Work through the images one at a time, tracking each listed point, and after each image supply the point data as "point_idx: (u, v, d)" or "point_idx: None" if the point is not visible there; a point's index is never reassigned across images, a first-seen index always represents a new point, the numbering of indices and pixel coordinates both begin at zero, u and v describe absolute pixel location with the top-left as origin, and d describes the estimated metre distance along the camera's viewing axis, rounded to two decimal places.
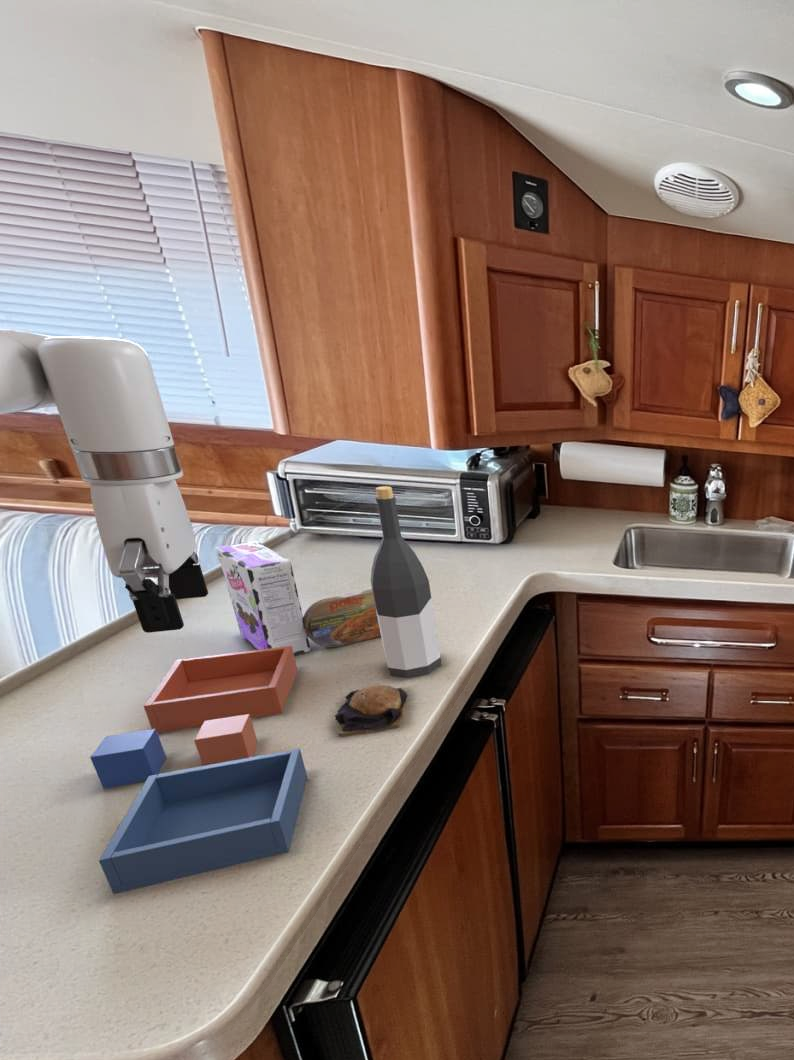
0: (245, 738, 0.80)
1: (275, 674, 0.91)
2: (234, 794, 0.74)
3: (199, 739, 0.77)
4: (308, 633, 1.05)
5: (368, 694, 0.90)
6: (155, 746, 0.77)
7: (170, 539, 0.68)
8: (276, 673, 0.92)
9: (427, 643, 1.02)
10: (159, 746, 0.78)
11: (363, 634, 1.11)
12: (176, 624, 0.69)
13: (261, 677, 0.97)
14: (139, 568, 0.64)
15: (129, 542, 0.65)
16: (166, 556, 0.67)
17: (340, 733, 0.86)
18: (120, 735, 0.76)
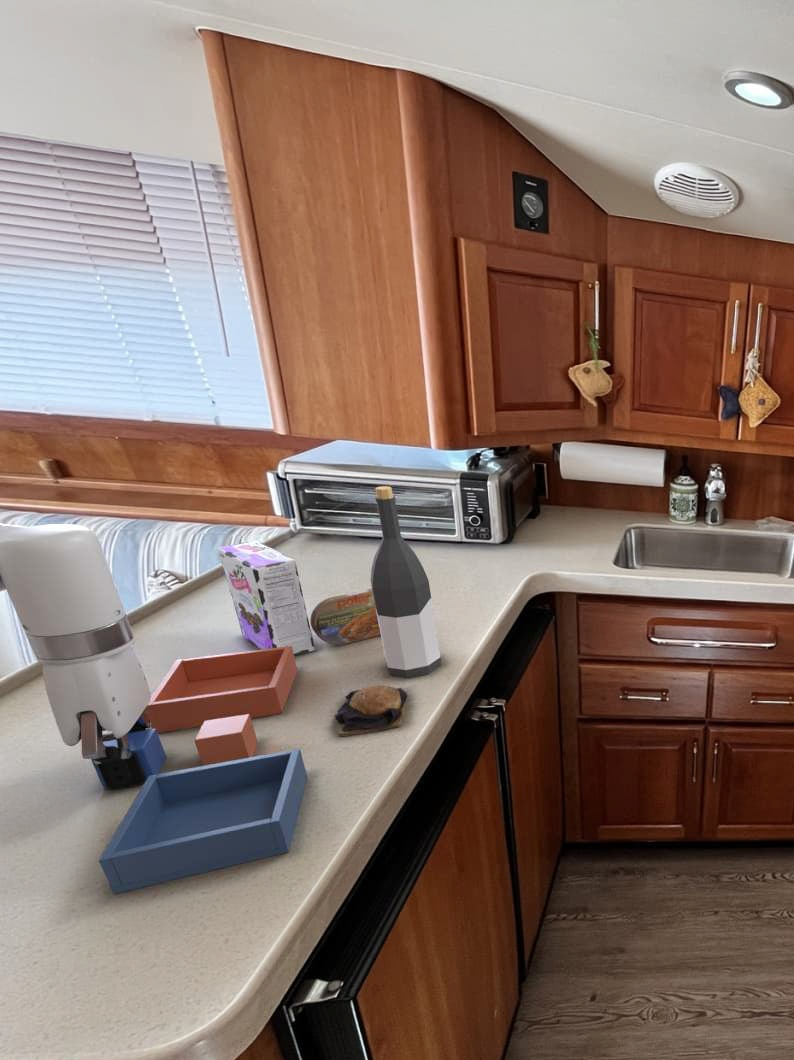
0: (245, 738, 0.80)
1: (275, 674, 0.91)
2: (234, 794, 0.74)
3: (199, 739, 0.77)
4: (317, 631, 1.06)
5: (368, 694, 0.90)
6: (155, 746, 0.77)
7: (121, 705, 0.71)
8: (276, 673, 0.92)
9: (427, 643, 1.02)
10: (159, 746, 0.78)
11: (370, 631, 1.12)
12: (138, 779, 0.75)
13: (261, 677, 0.97)
14: (100, 747, 0.69)
15: (84, 720, 0.69)
16: (117, 723, 0.70)
17: (340, 733, 0.86)
18: None
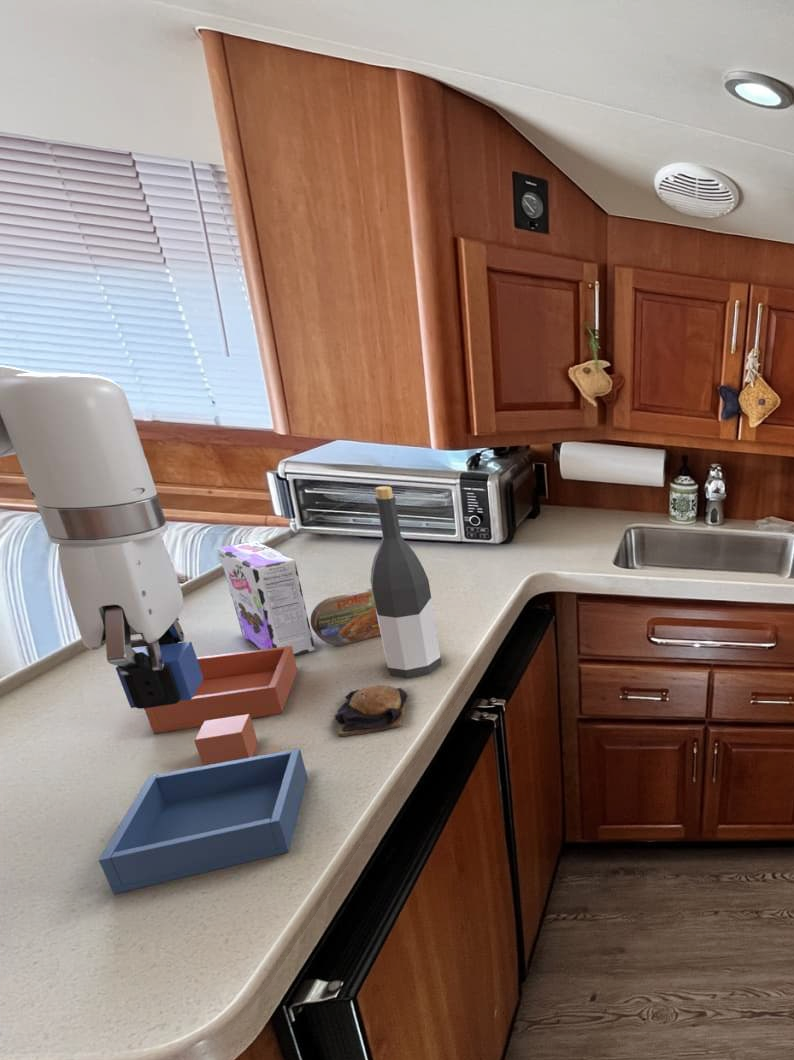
0: (245, 738, 0.80)
1: (275, 674, 0.91)
2: (234, 794, 0.74)
3: (199, 739, 0.77)
4: (317, 631, 1.06)
5: (368, 694, 0.90)
6: (191, 661, 0.65)
7: (153, 603, 0.59)
8: (276, 673, 0.92)
9: (427, 643, 1.02)
10: (195, 662, 0.66)
11: (370, 631, 1.12)
12: (171, 697, 0.62)
13: (261, 677, 0.97)
14: (128, 651, 0.57)
15: (108, 616, 0.56)
16: (148, 624, 0.58)
17: (340, 733, 0.86)
18: None
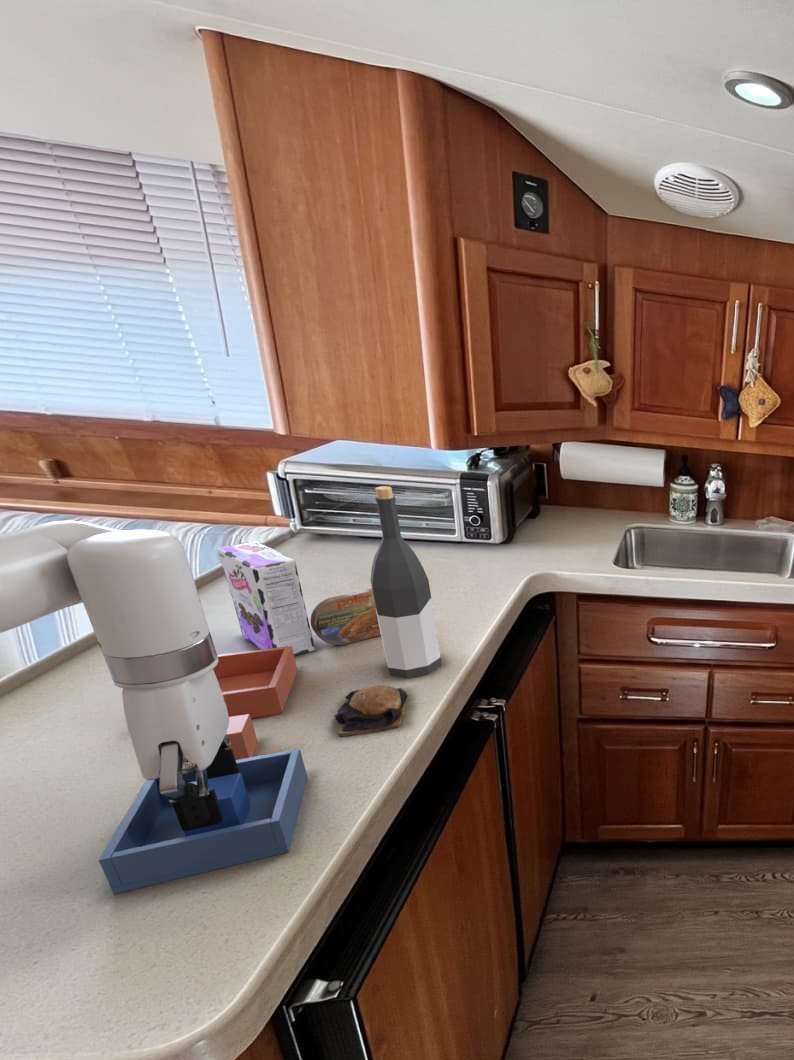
0: (245, 738, 0.80)
1: (275, 674, 0.91)
2: None
3: None
4: (317, 631, 1.06)
5: (368, 694, 0.90)
6: (241, 793, 0.70)
7: (205, 734, 0.63)
8: (276, 673, 0.92)
9: (427, 643, 1.02)
10: (244, 792, 0.71)
11: (370, 631, 1.12)
12: (215, 818, 0.66)
13: (261, 677, 0.97)
14: (179, 781, 0.60)
15: (164, 749, 0.60)
16: (201, 754, 0.62)
17: (340, 733, 0.86)
18: None
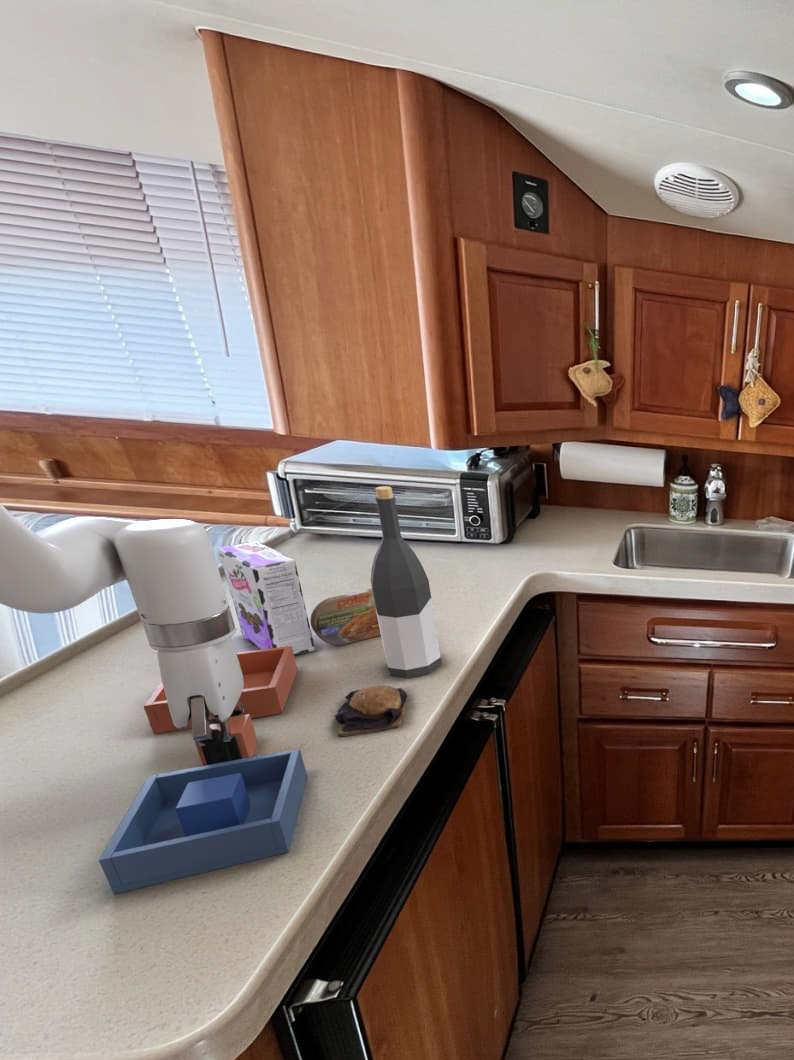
0: (245, 738, 0.80)
1: (275, 674, 0.91)
2: None
3: None
4: (317, 631, 1.06)
5: (368, 694, 0.90)
6: (241, 793, 0.70)
7: (225, 690, 0.75)
8: (276, 673, 0.92)
9: (427, 643, 1.02)
10: (244, 792, 0.71)
11: (370, 631, 1.12)
12: None
13: (261, 677, 0.97)
14: (208, 730, 0.73)
15: (193, 704, 0.73)
16: (222, 707, 0.75)
17: (340, 733, 0.86)
18: (203, 781, 0.69)
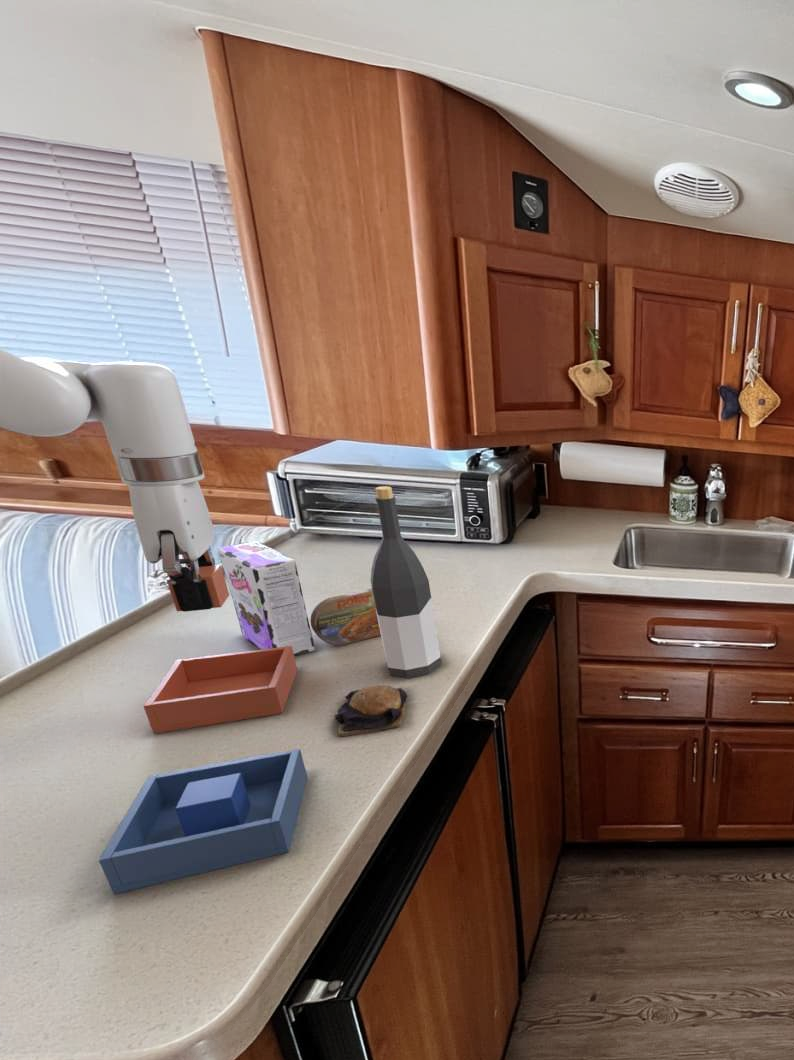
0: (215, 584, 0.85)
1: (275, 674, 0.91)
2: None
3: None
4: (317, 631, 1.06)
5: (368, 694, 0.90)
6: (241, 793, 0.70)
7: (194, 531, 0.80)
8: (276, 673, 0.92)
9: (427, 643, 1.02)
10: (244, 792, 0.71)
11: (370, 631, 1.12)
12: (206, 604, 0.84)
13: (261, 677, 0.97)
14: (177, 564, 0.78)
15: (163, 538, 0.78)
16: (191, 545, 0.79)
17: (340, 733, 0.86)
18: (203, 781, 0.69)
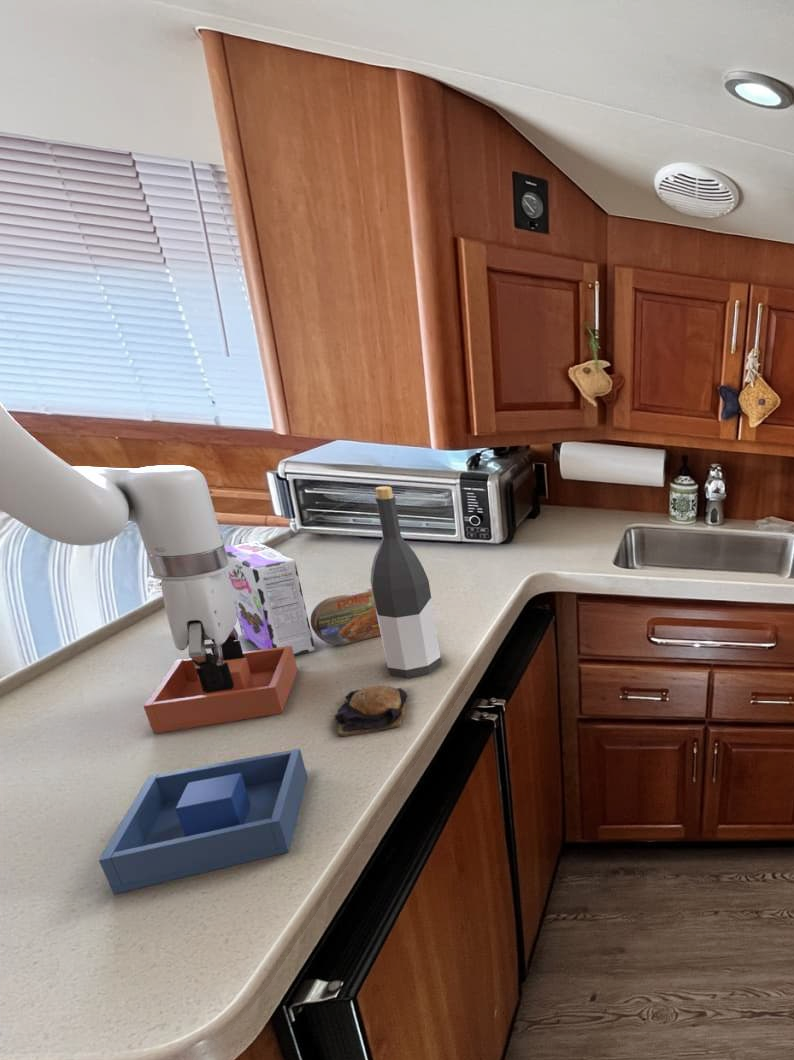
0: (242, 677, 0.91)
1: (275, 674, 0.91)
2: None
3: None
4: (317, 631, 1.06)
5: (368, 694, 0.90)
6: (241, 793, 0.70)
7: (220, 618, 0.85)
8: (276, 673, 0.92)
9: (427, 643, 1.02)
10: (244, 792, 0.71)
11: (370, 631, 1.12)
12: (228, 685, 0.88)
13: (261, 677, 0.97)
14: (202, 650, 0.83)
15: (191, 626, 0.83)
16: (218, 632, 0.85)
17: (340, 733, 0.86)
18: (203, 781, 0.69)
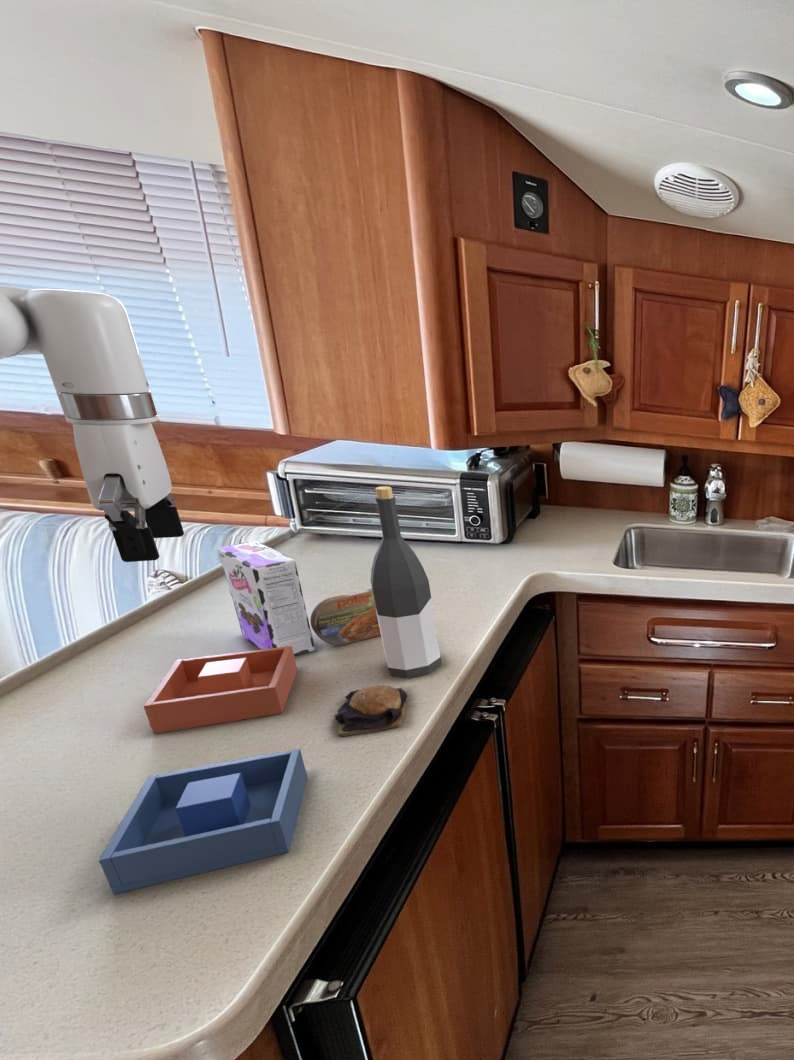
0: (242, 677, 0.91)
1: (275, 674, 0.91)
2: None
3: (202, 676, 0.88)
4: (317, 631, 1.06)
5: (368, 694, 0.90)
6: (241, 793, 0.70)
7: (146, 476, 0.75)
8: (276, 673, 0.92)
9: (427, 643, 1.02)
10: (244, 792, 0.71)
11: (370, 631, 1.12)
12: (152, 554, 0.76)
13: (261, 677, 0.97)
14: (117, 500, 0.71)
15: (108, 477, 0.72)
16: (142, 491, 0.74)
17: (340, 733, 0.86)
18: (203, 781, 0.69)
